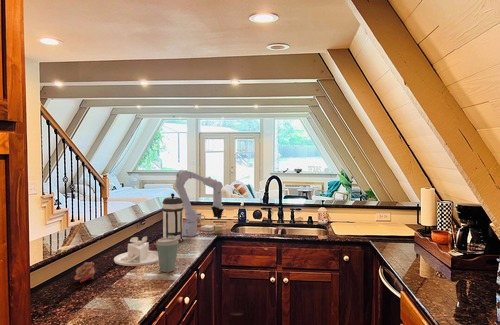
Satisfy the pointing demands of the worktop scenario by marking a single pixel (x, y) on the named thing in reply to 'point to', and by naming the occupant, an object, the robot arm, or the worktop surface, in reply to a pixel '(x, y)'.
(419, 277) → the worktop surface
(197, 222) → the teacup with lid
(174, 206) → the coffee press
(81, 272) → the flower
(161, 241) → the disposable coffee cup
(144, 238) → the dish
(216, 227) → the brass cube
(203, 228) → the ceramic plinth
